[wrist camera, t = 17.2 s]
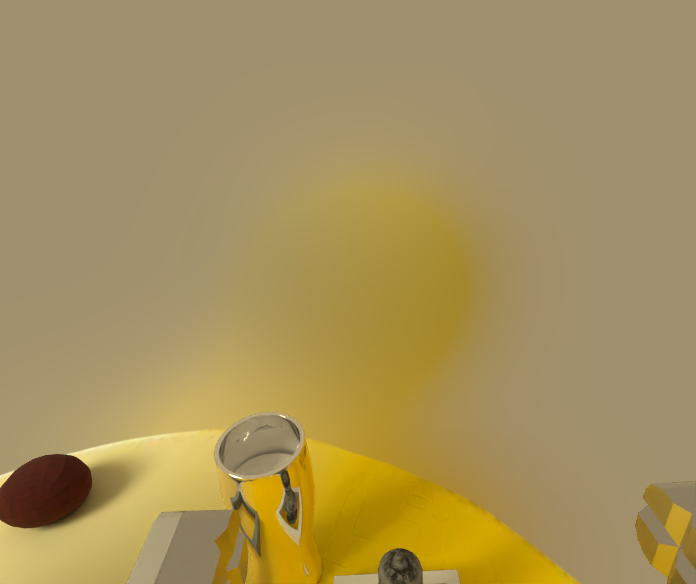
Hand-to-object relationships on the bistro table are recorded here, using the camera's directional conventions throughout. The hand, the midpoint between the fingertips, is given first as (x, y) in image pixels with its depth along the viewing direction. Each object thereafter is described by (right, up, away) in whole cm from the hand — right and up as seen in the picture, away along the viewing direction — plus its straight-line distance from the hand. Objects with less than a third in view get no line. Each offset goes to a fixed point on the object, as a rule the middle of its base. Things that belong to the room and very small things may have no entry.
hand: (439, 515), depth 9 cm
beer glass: (-7, -20, +29) cm, 36 cm away
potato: (-33, -19, +37) cm, 53 cm away
